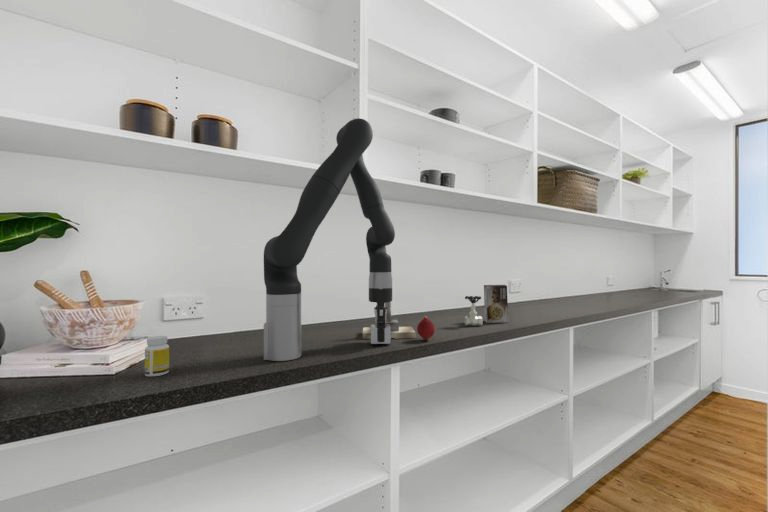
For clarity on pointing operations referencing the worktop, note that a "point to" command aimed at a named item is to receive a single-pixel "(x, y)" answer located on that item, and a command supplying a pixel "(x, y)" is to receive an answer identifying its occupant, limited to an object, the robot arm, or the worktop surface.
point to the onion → (426, 328)
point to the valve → (473, 313)
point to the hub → (374, 334)
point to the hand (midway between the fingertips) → (380, 339)
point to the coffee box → (495, 303)
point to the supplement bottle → (156, 356)
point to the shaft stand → (392, 327)
